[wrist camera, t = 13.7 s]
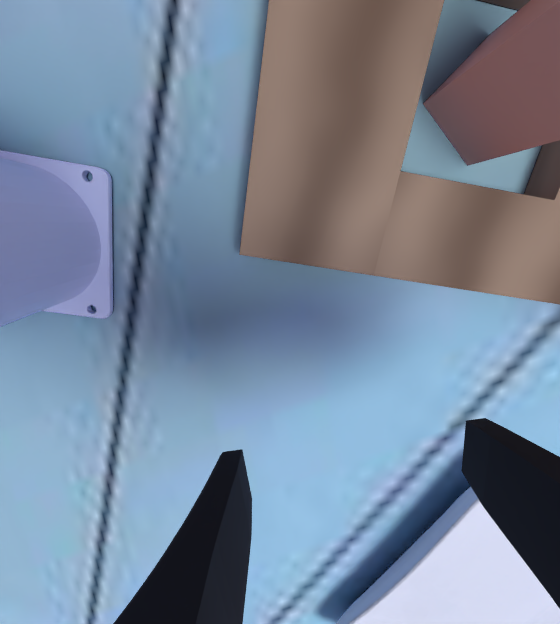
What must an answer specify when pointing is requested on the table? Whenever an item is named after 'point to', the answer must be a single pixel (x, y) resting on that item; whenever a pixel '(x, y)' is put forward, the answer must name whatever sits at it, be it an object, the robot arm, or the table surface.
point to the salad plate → (457, 578)
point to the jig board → (380, 161)
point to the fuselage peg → (505, 88)
